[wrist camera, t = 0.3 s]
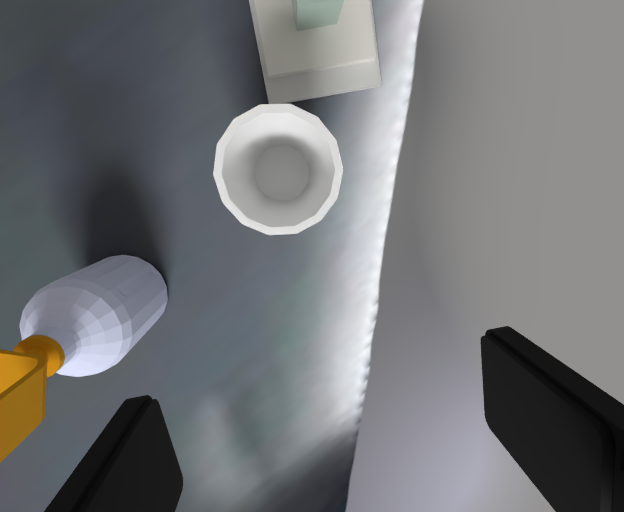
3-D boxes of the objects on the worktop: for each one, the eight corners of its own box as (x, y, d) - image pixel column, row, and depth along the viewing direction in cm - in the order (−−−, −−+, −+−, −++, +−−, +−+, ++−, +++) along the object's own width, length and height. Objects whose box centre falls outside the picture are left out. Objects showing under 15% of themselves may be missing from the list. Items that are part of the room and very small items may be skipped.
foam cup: (338, 151, 37) (363, 138, 25) (305, 228, 39) (313, 253, 26) (257, 113, 36) (240, 79, 23) (226, 195, 38) (195, 204, 25)
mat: (234, -74, 32) (234, -77, 32) (359, -94, 32) (360, -97, 32) (269, 106, 36) (269, 105, 36) (380, 86, 36) (381, 85, 36)
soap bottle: (90, 247, 38) (-246, 366, 14) (173, 262, 39) (-9, 396, 15) (85, 321, 40) (-219, 536, 16) (164, 333, 41) (-9, 553, 17)
